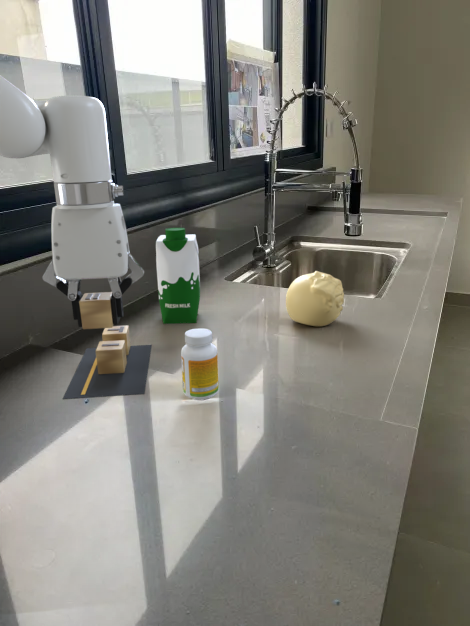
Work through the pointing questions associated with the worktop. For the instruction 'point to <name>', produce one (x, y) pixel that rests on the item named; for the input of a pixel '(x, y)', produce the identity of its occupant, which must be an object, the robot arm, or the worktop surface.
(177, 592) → the worktop surface
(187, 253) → the milk carton
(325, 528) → the worktop surface
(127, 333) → the small cardboard box
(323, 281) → the pale yellow lumpy ball
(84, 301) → the striped cardboard box
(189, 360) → the supplement bottle
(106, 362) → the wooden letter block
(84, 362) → the word mat
